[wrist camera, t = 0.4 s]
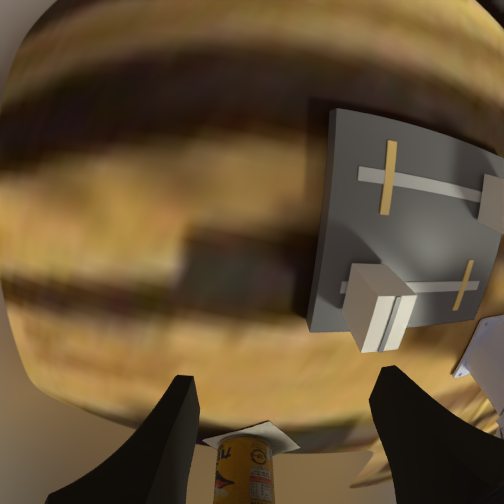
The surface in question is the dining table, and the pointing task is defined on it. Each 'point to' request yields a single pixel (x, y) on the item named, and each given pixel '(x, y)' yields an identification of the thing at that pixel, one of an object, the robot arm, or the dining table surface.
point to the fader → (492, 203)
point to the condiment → (248, 464)
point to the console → (403, 218)
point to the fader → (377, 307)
